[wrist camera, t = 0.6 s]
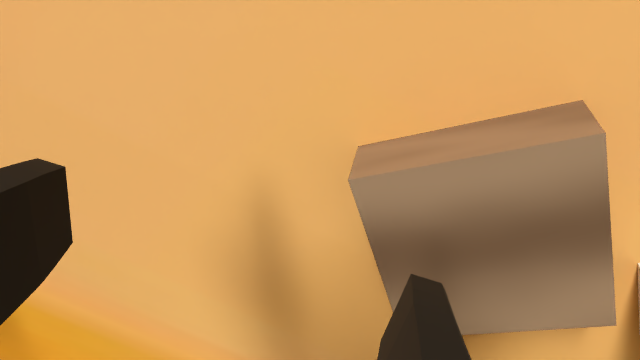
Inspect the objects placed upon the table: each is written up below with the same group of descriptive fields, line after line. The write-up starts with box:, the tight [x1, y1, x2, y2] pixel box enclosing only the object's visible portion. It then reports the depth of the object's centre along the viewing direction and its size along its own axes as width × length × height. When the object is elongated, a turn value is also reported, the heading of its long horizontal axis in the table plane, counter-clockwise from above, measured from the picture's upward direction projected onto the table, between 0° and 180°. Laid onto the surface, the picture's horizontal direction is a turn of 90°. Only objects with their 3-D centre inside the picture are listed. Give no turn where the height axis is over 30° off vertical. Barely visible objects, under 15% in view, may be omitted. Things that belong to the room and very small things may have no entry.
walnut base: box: [348, 100, 616, 335], centre depth 18 cm, size 8×8×3 cm
